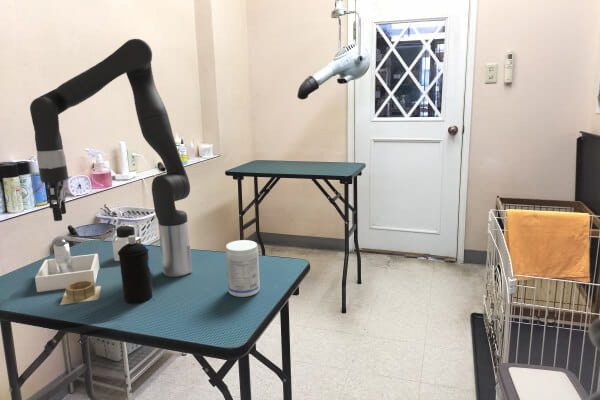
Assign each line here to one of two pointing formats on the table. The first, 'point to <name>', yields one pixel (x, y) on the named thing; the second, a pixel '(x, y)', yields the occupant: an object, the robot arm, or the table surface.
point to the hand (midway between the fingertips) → (60, 217)
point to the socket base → (81, 292)
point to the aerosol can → (135, 272)
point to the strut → (63, 256)
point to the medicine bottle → (123, 239)
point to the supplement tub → (242, 268)
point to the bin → (82, 268)
